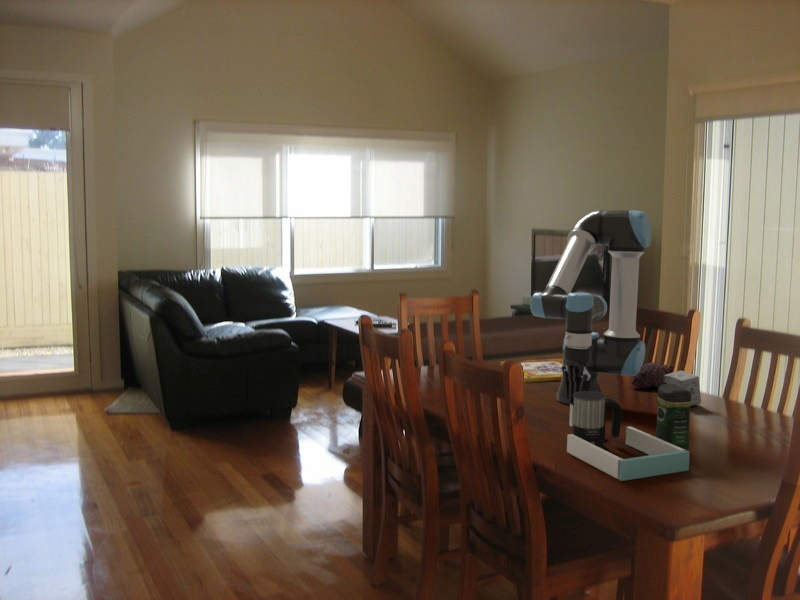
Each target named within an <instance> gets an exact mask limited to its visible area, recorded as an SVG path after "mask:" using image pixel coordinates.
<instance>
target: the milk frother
mask: <svg viewBox="0 0 800 600" xmlns="http://www.w3.org/2000/svg"><path fill="white" fill-rule="evenodd" d="M573 397H574V413H573V427H572V434H573V435H575V436H577V437H579V438H581V439H583V440H585V441H587V442H589V443H591V444H593V445H595V446H597V447H599V448H601V449H604V448H605V442H604V441H605V440H606V421H607V420H606V419H607V418H606V415H607V410H606V409H607V408H611V409H612V419H611V427H610V428H611V429H610V434H611V436H612V437H613V438H618V437H619V436H620V432H621V423H622V416H623V410H622V409H623V408H622V406H621V405H620V403H619V402H618V401H616V400H615V399H612V398H607V395H606V394H605V393H603V392H601V393H599V392H594V391H580V392H576V393H574V394H573Z"/></svg>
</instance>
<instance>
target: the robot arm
mask: <svg viewBox="0 0 800 600" xmlns="http://www.w3.org/2000/svg"><path fill="white" fill-rule="evenodd" d="M650 220H651V219H650V218H649V215H648V214H647V213H646V212H645V211H642V210H634V209H631V210H630V209H629V210H626V209H625V210H623V209H622V210H621V209H618V210H615V209H614V210H613V209H598V210H594V211H592V212H589V213H588V214H586V215H584V216H583V217H581V218H580V219H579V220H578V221H577V222H575V224H574V225H573V226H572V228H571V229H570V231H569V233H568V234H567V237H566V246H565V247H564V250H563V251H562V254H561V255H560V258H559V260H558V261H557V262H558V263H557V264H556V266H555V268H554V270H553V272H552V275H550V276H551V277H550V278H549V281H548V283H547V284H546V287H545V288H544V290H543V292H542V291H541V292H535V293H533V294H532V296H531V298H530V303H529V306H530V307H529V308H530V312H531V314H532V315H533V317H538V318H543V319H556V320H565V335H564V338H563V346H562V359H563V366H562V372H563V377H562V380H561V381H560V383H559V386H558V390H557V392H556V400H557V402H560V403H562V404H565V405H569V426H570V427H571V428H573V413H574V397H573V394H574V393H576V392H580V391H594V392H599V393H602V391H601V390H602V389H601V386H600V383H599V381H598V373H600V374H607V375H608V374H609V375H617V376H621V377H634V376H635V375H637V374H638V373H639V371H640V369H641V367H642V366H643V364H644V361H645V357H646V344H645V342H643V341H641V335H640V334H639V333H638V331H637V330H636V329H637V328H636V327H637V311H638V309H637V308H638V307H637V306H638V293H639V292H638V291H639V290H638V289H639V271H640V258H641V256H642V255H644V254H645V248H649V247H650V246H651V243H652V237H653V236H652V235H653V234H652V226H651V221H650ZM597 246H607V252H608V253H609V254H610V255H611V273H610V274H611V277H610V281H611V282H610V293H609V295H610V297H609V298H610V300H609V301H610V302H609V318H608V319H609V320H608V329H607V330H606V331H604V333H603V337H600V334H599V333H598V332H594V331H593V323H594V322H596V321H600V320H601V319H602V318H604V316H605V315H606V314H607V311H608V304H607V301H606V300H605V299H604V298H603V297H602V296H600V295H599V294H598V295H597V294H594V295H593V294H592V293H589V292H581V291H580V292H572V289H573V288H574V285H575V284H576V281H577V279H578V277H579V275H580V272H581V270H582V268H583V267H584V264H585V262H586V260H587V257H588V255H589V254H590V253H591V252H593V251H594V250H595V248H596V247H597Z"/></svg>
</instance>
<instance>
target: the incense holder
mask: <svg viewBox="0 0 800 600" xmlns="http://www.w3.org/2000/svg"><path fill="white" fill-rule="evenodd" d="M664 381H665V382H666V383H667V384H676V385H677V386H680V387H682V388H684V389H686V390H688V391H690V392H691V406H696V405H700V404H701V403H702V399H701V387H700V386H701V385H700V384H701V383H700V377H699V375H695V374H692V373H689V372H686V371H684V370H678V371H675V372H674V371H673V372H672V373H670V374H667V375H664Z"/></svg>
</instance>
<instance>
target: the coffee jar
mask: <svg viewBox="0 0 800 600" xmlns="http://www.w3.org/2000/svg"><path fill="white" fill-rule="evenodd" d="M656 400H657V411H656V412H657V416H656V428H655V429H656V430H655V437H657V438H659V439H661V440H664V441H666V442H668V443H671V444H673V445H675V446H678V447H680V448H682V449H685V450H687V451H689V452H690V422H691V421H690V420H691V419H690V417H691V416H690V415H691V392H690V391H688V390H686V389H684V388H682V387H680V386H677V385H676V384H662V385H661V386H660V387H657V396H656Z"/></svg>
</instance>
